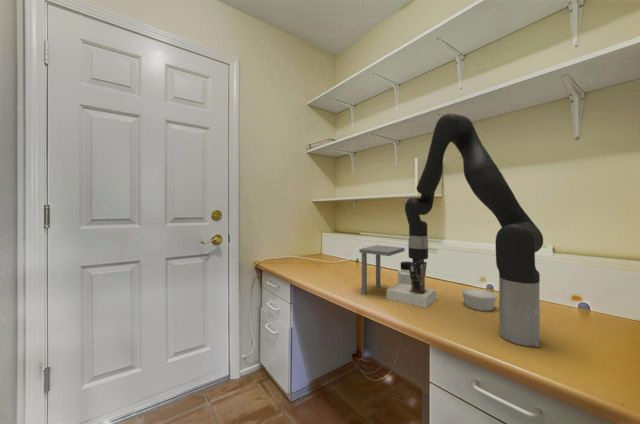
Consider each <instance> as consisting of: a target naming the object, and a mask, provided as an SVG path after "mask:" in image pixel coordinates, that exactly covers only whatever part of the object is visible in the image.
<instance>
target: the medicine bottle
mask: <svg viewBox="0 0 640 424" xmlns="http://www.w3.org/2000/svg"><path fill="white" fill-rule="evenodd" d="M409 266H412V261H408V260H407V261H405V260H404V261H401V262H400V270H397V284H398V283H402V284H407V285H411V277H410V271H409Z"/></svg>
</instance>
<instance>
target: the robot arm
mask: <svg viewBox="0 0 640 424" xmlns="http://www.w3.org/2000/svg"><path fill="white" fill-rule="evenodd" d="M450 143H452V144H453V145H454V146H455V147H456V149H457V150H458V152H459V154H460V155H461V158H462V162H463V163H462V164H463V175H464V177H465V180H466V182H467V184H468V185H469V188H470V189H471V191H472V192H473V194H474V195H475V197H476V198H477V199H478V200H479V201H480V202H481V203H483V205H484V206H485V207H486V208H487V209H488V210H490V212H491V213H492V214H493V215H494V216H495V217H496V219H497V221H498V223H499V225H500V227H501V228H500V229H498V231H497V233H496V235H495V262H496V263H495V265H496V268H497V270H498V336H500V337H501V338H503V339H504V340H506V341H508V342H510V343H512V344H515V345H519V346H524V347H535V348H540V344H541V343H540V334H541V332H540V328H541V327H540V326H541V325H540V317H541V315H540V314H541V313H540V311H541V310H540V309H541V308H540V304H541V303H540V281H541V278H540V277H541V276H540V272H539V271H538V270H537V267H536V255H535V254H536V253H538V252H539V251H540V250H541V249H542V247H543V245H544V236H543V233H542V232H541V230H540V229H539V228H538V227H537V225H536V224H535V223H534V222H533V220H532V219H531V218H530V217H529V215H528V214H527V212H525V210H524V209H523V207H522V206H521V205H520V203H519V201H518V200H517V198H516V196H515V195H514V192H513V191H512V189H511V187H510V186H509V184H508V182H507V181H506V179H505V177H504V175H503V174H502V172H501V171H500V168H499V167H498V166H497V164H496V163H495V162H494V160H493V158H492V157H491V155H490V154H489V151H488V150H487V149H486V148H485V147H484V145H483V143H482V142H481V139H480V138H479V135H478V133H477V131H476V129H475V127H474V124H473V123H472V120H470V118H468V117H467V116H465V115H460V114H456V113H449V112H448V113H445V114H443V115H442V116H440V118H439V119H438V120H437V122H436V124H435V126H434V130H433V135H432V138H431V142H430V145H429V151H428V155H427V159H426V162H425V165H424V167H423V171H422V173H421V175H420V178H419V180H418V183H417V185H416V192H418V194H420V196H419V197H411V198H408V199H407V200H406V202H405V203H404V204H405V205H404V211H405V212H404V213H405V215H406V220H407V223H408V245H407V246H408V258H409V259H411V260H412V261H411V262H412V266H409V271H410V277H411V280H413V289H414V290H419V280H420V279H419V276H420V275H421V269H422V268H425V274H427V273H426V272H427V271H426V270H427V265H428V264H427V261H425V260H427V259H429V239H428V223H427V222H426V221H423V220H422V219H421V216H425V215H426V216H427V214H429V213H430V212H431V210H432V209H433V206H434V199H435V193H436V190H437V188H438V186H439V184H440V181H441V179H442V176H443V171H444V170H443V169H444V167H443V166H444V156H445V153H446V150H447V148H448V146H449V145H450ZM417 272H419V273H417ZM417 275H418V276H417Z"/></svg>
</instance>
